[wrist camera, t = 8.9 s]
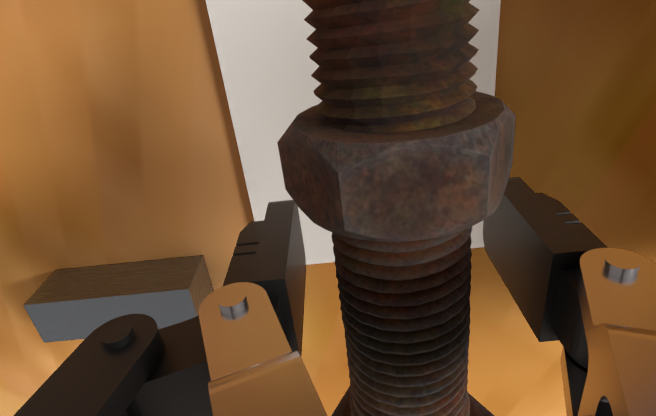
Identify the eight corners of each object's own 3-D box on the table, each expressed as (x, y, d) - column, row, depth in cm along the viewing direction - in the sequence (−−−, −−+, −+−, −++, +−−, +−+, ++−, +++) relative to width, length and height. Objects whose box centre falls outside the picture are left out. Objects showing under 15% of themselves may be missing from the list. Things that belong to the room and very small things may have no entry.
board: (503, -150, 19) (510, -155, 18) (480, 240, 28) (484, 247, 28) (186, -106, 20) (181, -109, 19) (266, 261, 29) (264, 268, 28)
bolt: (395, -73, 11) (413, 372, 17) (193, -62, 9) (300, 439, 15) (655, -151, 6) (545, 499, 13) (352, -166, 4) (408, 620, 11)
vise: (21, -356, 16) (-51, -436, 13) (213, 291, 30) (201, 327, 27) (-235, -314, 16) (-364, -381, 13) (72, 305, 30) (44, 342, 27)
